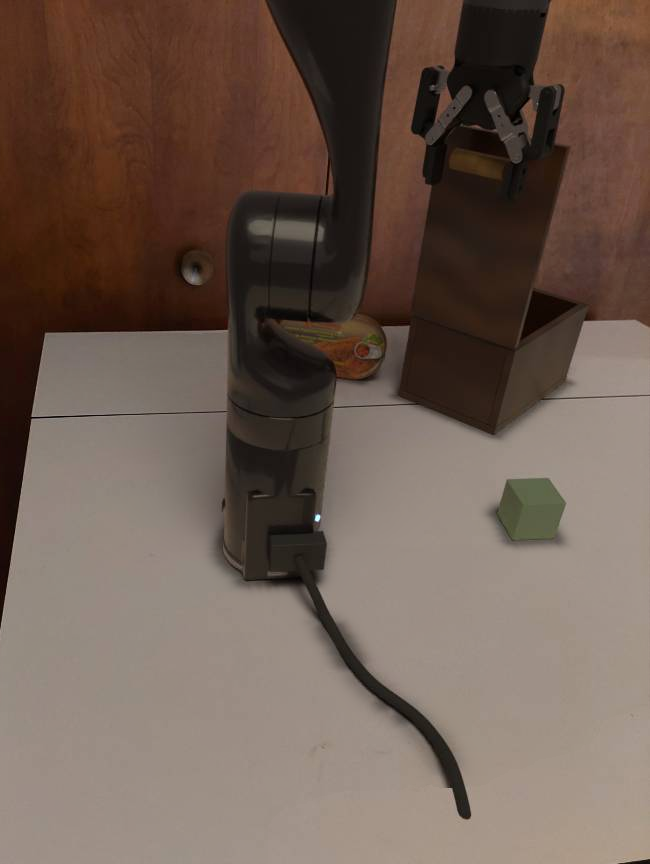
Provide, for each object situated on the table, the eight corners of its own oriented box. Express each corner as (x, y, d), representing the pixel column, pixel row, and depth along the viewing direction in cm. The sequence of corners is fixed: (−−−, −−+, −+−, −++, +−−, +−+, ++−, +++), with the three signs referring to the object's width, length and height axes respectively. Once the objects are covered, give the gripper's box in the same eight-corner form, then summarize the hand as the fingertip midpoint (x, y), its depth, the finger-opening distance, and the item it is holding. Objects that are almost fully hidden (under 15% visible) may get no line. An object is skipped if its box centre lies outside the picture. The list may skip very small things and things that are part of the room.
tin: (272, 367, 110) (275, 308, 105) (277, 357, 113) (281, 299, 107) (380, 384, 107) (389, 325, 102) (384, 374, 109) (393, 315, 104)
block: (554, 538, 82) (566, 503, 79) (512, 540, 81) (523, 504, 78) (537, 512, 85) (548, 477, 82) (496, 514, 85) (506, 478, 82)
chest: (474, 349, 117) (491, 274, 110) (565, 381, 110) (589, 304, 103) (397, 395, 105) (411, 315, 98) (493, 435, 98) (515, 351, 91)
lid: (446, 121, 85) (419, 128, 82) (570, 145, 78) (546, 154, 75) (413, 310, 98) (389, 322, 95) (518, 346, 91) (495, 360, 88)
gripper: (415, -5, 73) (389, 184, 83) (563, 10, 65) (515, 216, 75) (457, -8, 77) (428, 172, 87) (601, 6, 70) (550, 201, 80)
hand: (468, 192), depth 81 cm, fingers open, 8 cm apart
